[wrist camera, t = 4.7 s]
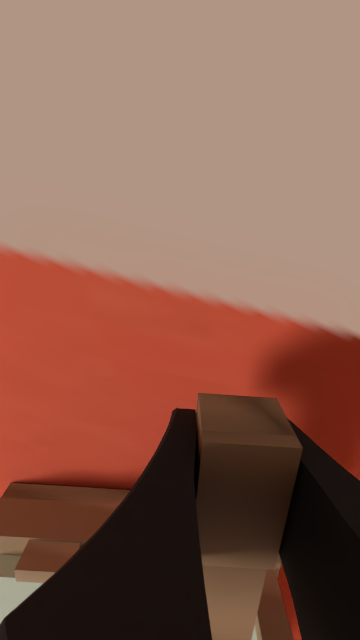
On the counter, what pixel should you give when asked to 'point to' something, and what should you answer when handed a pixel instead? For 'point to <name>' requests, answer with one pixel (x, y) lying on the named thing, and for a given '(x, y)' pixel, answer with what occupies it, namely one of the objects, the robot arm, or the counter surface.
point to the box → (77, 527)
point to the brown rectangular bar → (241, 502)
